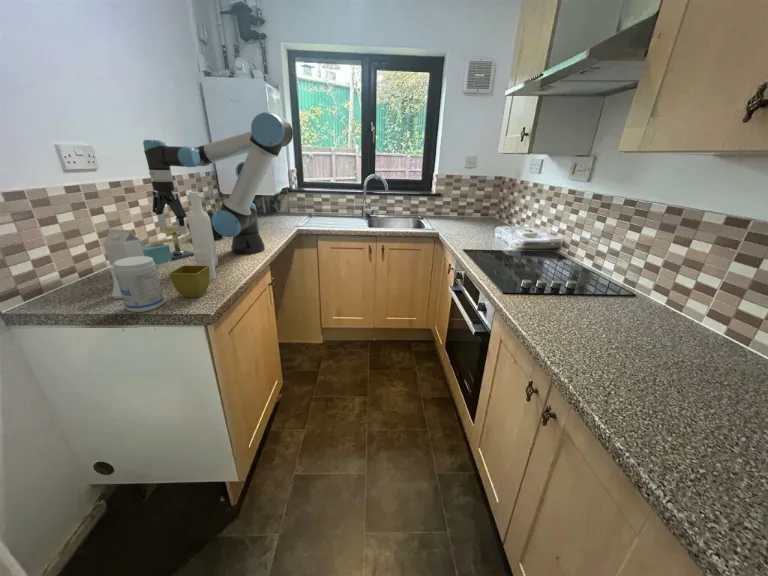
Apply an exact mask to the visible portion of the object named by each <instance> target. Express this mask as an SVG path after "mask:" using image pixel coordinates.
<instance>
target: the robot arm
mask: <svg viewBox="0 0 768 576" xmlns="http://www.w3.org/2000/svg"><path fill="white" fill-rule="evenodd" d="M293 136H294V131H293V127H292V126H291V123H290V122H289V121H288V120H287V119H286V118H284V117H282V116H280V115H278V114H275V113H273V112H268V111H267V112H266V111H265V112H260V113H258V114H257V115H255V117H253V119H252V121H251V125H250V131H247V132H244V133H241V134H237V135H233V136H230V137H228V138H226V137H225V138H223V139H219V140H215V141H213V142H210V143H205V144H203V145H200V146H194V147H191V146H176V145H175V146H170V145H169V146H168V145H167V144H166V142H165V141H164V140H158V139H157V140H156V139H144V140H143V141H142V145H143V150H144V151H143V152H144V155H145V158H146V159H145V160H146V162H147V166H148V171H149V173H148V174H149V176H150V180H152V181H151V185H152V190H153V191H152V196H153V197H152V213H155V215H156V217H157V221H158V226H159V228H162V227H168V226H167V221H166V216H165V212H164V209H165V207H166V206H169V208H170V209H171V211H172V212H173V214H174V215H175V221H176V225H177V227H178V232H177V233H178V235H182V234H186V233H187V229H186V230H185V226H186V224H185V220H184V219H185V218H186V217H188V216H187V213H186V211H185V210H184V209H185V208H184V207H183V205H182V203H181V201H180V198H179V195H178V193H173V191H175V184H174V182H173V181H172V180H173V179H174V178H173V174H172V170H171V169H172V168H171V167H186V168H197V167H206V166H207V167H208V166H210V165H211V164H212V163H216V162H219V161H224V160H227V159H230V158H234V157H238V156H242V155H244V154H247V156H246V158H245V161H244V163H243V165H242V167H241V170H240V171H239V174H238V177H237V178H236V181H235V184H234V185H233V188H232V191H231V193H230V195H229V198H226V199H224V200H223V201H222V204H221V205H220V208H219V210H217V211H215V212H213V213H214V215H213V216H212V225H213V227H214V229H215V230H216V231H217V232H218V233H219V234H220V235H222V236H223V237H225V238H232V242H231V248H230V249H231V253H234V254H237V255H240V254H241V255H249V254H258V253H261V252H263V251H264V250H265V243H264V241H263V240H262V237H261V234H260V231H259V223H258V210H257V207H256V204H255V203H253V201H254V199H255V198H256V195H257V192H258V190H259V188H260V187H261V183H262V181H263V179H264V177H265V175H266V173H267V171H268V169H269V166H270V164H271V162H272V160H273V159H275V158H278V157H279V154H280V152H281V150H282V148H284V147H286V146H288V145H289V144H290V143H291V142H292V140H293Z"/></svg>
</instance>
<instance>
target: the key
mask: <svg viewBox="0 0 768 576" xmlns="http://www.w3.org/2000/svg"><path fill="white" fill-rule="evenodd" d="M185 230H186V231H187V227H186V225H185ZM159 232H160V233H161V234H171V237H172V238H168V239H163V240H157V241H151V242H149V245H153V246H154V245H159V244H168V243H173V245H174V251H180V250H181V246H180V241H179V237H178V233H179V232H178V227H177V224H176V225H169V226H167V227H162V228H160V227H159Z"/></svg>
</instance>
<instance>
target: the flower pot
mask: <svg viewBox="0 0 768 576" xmlns="http://www.w3.org/2000/svg"><path fill="white" fill-rule="evenodd" d="M168 276H169V278H170V280H171V284H172V285H173V287H174V289H175V291H176V292H177V293H178V294H179V295H181V297H183V298H200V297H202V296H203V294H205V293H206V292H207V290H208V288H209V286H210V281H211V280H210V270H209V266H198V265H197V264H196V265H194V264H193V265H189V264H187V265H185V264H184V265H181V266H179V267H177V268H175V269H174V270H172V271H170V272H169V273H168Z"/></svg>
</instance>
